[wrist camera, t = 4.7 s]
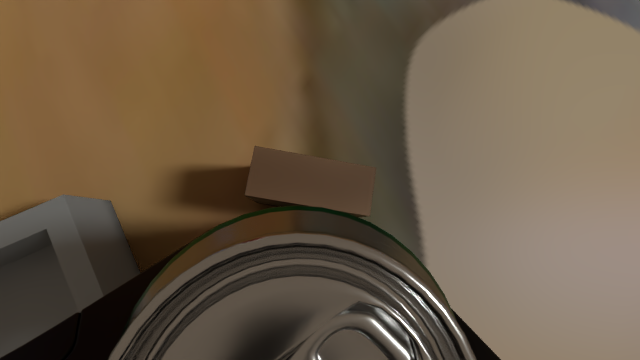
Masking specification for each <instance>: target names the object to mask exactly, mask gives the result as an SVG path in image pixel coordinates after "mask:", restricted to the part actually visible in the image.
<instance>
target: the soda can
mask: <svg viewBox="0 0 640 360" xmlns="http://www.w3.org/2000/svg"><path fill="white" fill-rule="evenodd" d="M108 360H477V359H476V357H475V355H474V353H473V351H472V348H471V346H470V344H469V342H468V340H467V338H466V336H465V333H464V332H463V330H462V329H461V327H460V326H459V324H458V323H457V321H456V318H455V316H454V314H453V312H452V310H451V308H450V305H449V303H448V301H447V299H446V297H445V295H444V293H443V291H442V290H441V289H440V287H439V285H438V284H437V282H436V281H435V279H434V278H433V276H432V275H431V273H430V272H429V270H428V269H427V268H426V267H425V266H424V265H423V264H422V263H421V261H420V260H419V259H418V258H417V257H416V256H415V255H414V254H413V252H412V251H410V250H409V249H408V248H407V247H406V246H404V245H403V244H402V243H401V242H399V241H398V240H397V239H396V238H395V237H393V236H392V235H391V234H389V233H387V232H386V231H384V230H382V229H381V228H379V227H377V226H376V225H374V224H372V223H371V222H368V221H366V220H363V219H361V218H358V217H356V216H353V215H351V214H348V213H345V212H341V211H337V210H332V209H328V208H323V207H312V206H297V205H295V206H284V207H273V208H267V209H263V210H259V211H255V212H251V213H247V214H244V215H241V216H239V217H237V218H234V219H232V220H229V221H227V222H225V223H222V224H220V225H218V226H216V227H215V228H213V229H211V230H210V231H208V232H206V233H205V234H203V235H201V236H200V237H198V238H197V239H195V240H194V241H192V242H191V243H190V244H189V245H188V246H186V247H185V248H184V249H183V250H182V251H180V252H179V253H178V254H177V255H175V256H174V257H173V258H172V259H171V260H170V261H169V262H168V263H167V264H166V266H165V267H164V268H163V269H162V270H161V271H160V272H159V273H158V274H157V276H156V277H155V278H154V279H153V280H152V281H151V283H150V284H149V286H148V287H147V289H146V290H145V292H144V293H143V295H142V296H141V298H140V299H139V301H138V302H137V304H136V305H135V306H134V308H133V310H132V313H131V315H130V317H129V319H128V321H127V323H126V325H125V327H124V329H123V331H122V333H121V335H120V338H119V342H118V343H117V345H116V346H115V348H114V349H113V351H112V352H111V354H110V356H109V358H108Z"/></svg>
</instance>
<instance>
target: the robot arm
mask: <svg viewBox="0 0 640 360" xmlns="http://www.w3.org/2000/svg"><path fill="white" fill-rule="evenodd" d="M209 231H210V230H209ZM207 232H208V231H207ZM204 234H205V233H204ZM202 235H203V234H202ZM199 237H200V236H199ZM196 239H197V238H196ZM194 240H195V239H194ZM194 240H193V241H194ZM191 242H192V241H191ZM191 242H190V243H191ZM190 243H188V244H186V245H185V246H183V247H182V248H180V249H178V250H177V251H175V252H174V253H172V254H170V255H169V256H167V257H166V258H164V259H162V260H161V261H159V262H158V263H156V264H154V265H153V266H151V267H150V268H148V269H146V270H145V271H143V272H141V273H140V274H138V275H137V276H135V277H133V278H132V279H130V280H129V281H127V282H125V283H124V284H122V285H121V286H119V287H117V288H116V289H114V290H113V291H111V292H109V293H108V294H106V295H105V296H103V297H101V298H100V299H98V300H97V301H95V302H93V303H92V304H90V305H89V306H87V307H85V308H84V309H82V310H81V313H80V312H76V313H75V314H73V315H72V316H70V317H68V318H67V319H65V320H63V321H62V322H60V323H59V324H57V325H55V326H54V327H52V328H50V329H49V330H47V331H45V332H44V333H42V334H40V335H39V336H37V337H35V338H34V339H32V340H30V341H29V342H27V343H25V344H24V345H22V346H20V347H18V348H17V349H15V350H13V351H11V352H10V353H8V354H6V355H4V356H2V357H1V358H0V360H108V358H109V356H110V354H111V352H112V351H113V349H114V348H115V346H116V345H117V343H118V342H119V338H120V335H121V333H122V331H123V329H124V327H125V325H126V323H127V321H128V319H129V317H130V315H131V313H132V310H133V308H134V306H135V305H136V304H137V302H138V301H139V299H140V298H141V296H142V295H143V293H144V292H145V290H146V289H147V287H148V286H149V284H150V283H151V281H152V280H153V279H154V278H155V277H156V276H157V274H158V273H159V272H160V271H161V270H162V269H163V268H164V267H165V266H166V264H167V263H168V262H169V261H170V260H171V259H172V258H173V257H174V256H175V255H177V254H178V253H179V252H180V251H182V250H183V249H184V248H185V247H186V246H188V245H189V244H190ZM451 310H452V309H451ZM452 312H453V314H454V316H455V318H456V321H457V323H458V324H459V326H460V327H461V329H462V330H463V332H464V333H465V336H466V338H467V340H468V342H469V344H470V346H471V348H472V351H473V353H474V355H475V357H476V359H477V360H501V359H500V358H499V357H498V356H497V355H496V354H495V353H494V352H493V351H492V350H491V349H490V348H489V347H488V346H487V345H486V344H485V343H484V342H483V341H482V340H481V339H480V338H479V337H478V335H477V334H475V332H474V331H473V330H472V329H471V328H470V327H469V326H468V325H467V324H466V323H465V322H464V321H463V320H462V319H461V318H460V317H459V316H458V315H457V314H456V313H455V312H454V311H453V310H452Z"/></svg>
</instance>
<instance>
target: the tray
mask: <svg viewBox="0 0 640 360" xmlns="http://www.w3.org/2000/svg"><path fill="white" fill-rule="evenodd" d="M138 274H140V271H139V269H138V266H137V264H136V261H135V259H134V257H133V254H132V252H131V249H130V247H129V244H128V242H127V240H126V237H125V235H124V232H123V230H122V227H121V225H120V223H119V220H118V218H117V215H116V213H115V211H114V208H113V206H112V203H111V201H108V200H101V199H93V198H85V197H78V196H70V195H61V196H59V197H57V198H54V199H52V200H50V201H47V202H45V203H43V204H40V205H38V206H35V207H33V208H31V209H28V210H26V211H24V212H21V213H19V214H16V215H14V216H12V217H9V218H7V219H5V220H2V221H0V358H1V357H2V356H4V355H6V354H8V353H10V352H11V351H13V350H15V349H17V348H18V347H20V346H22V345H24V344H25V343H27V342H29V341H30V340H32V339H34V338H35V337H37V336H39V335H40V334H42V333H44V332H45V331H47V330H49V329H50V328H52V327H54V326H55V325H57V324H59V323H60V322H62V321H63V320H65V319H67V318H68V317H70V316H72V315H73V314H75V313H76V312H80V313H81V310H82V309H84V308H85V307H87V306H89V305H90V304H92V303H93V302H95V301H97V300H98V299H100V298H101V297H103V296H105V295H106V294H108V293H109V292H111V291H113V290H114V289H116V288H117V287H119V286H121V285H122V284H124V283H125V282H127V281H129V280H130V279H132V278H133V277H135V276H137V275H138Z"/></svg>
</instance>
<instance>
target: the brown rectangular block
mask: <svg viewBox="0 0 640 360" xmlns="http://www.w3.org/2000/svg"><path fill="white" fill-rule="evenodd" d="M375 173H376V168H375V167H370V166H364V165H358V164H353V163H347V162H342V161H336V160H331V159H325V158H320V157H314V156H308V155H303V154H297V153H292V152H286V151H281V150H275V149H269V148H264V147H258V146H255V147H254V152H253V157H252V161H251V166H250V171H249V176H248V181H247V186H246V191H245V196H247V197H249V198H250V199H252V200H254V201H255V202H257V203H262V204H268V205H274V206H280V207H284V206H295V205H297V206H312V207H323V208H328V209H332V210H337V211H341V212H345V213H348V214H351V215H353V216H356V217H366V216H370V211H371V203H372V196H373V188H374V181H375Z"/></svg>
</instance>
